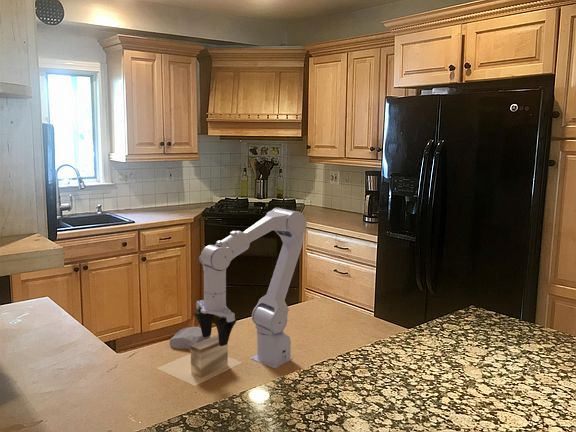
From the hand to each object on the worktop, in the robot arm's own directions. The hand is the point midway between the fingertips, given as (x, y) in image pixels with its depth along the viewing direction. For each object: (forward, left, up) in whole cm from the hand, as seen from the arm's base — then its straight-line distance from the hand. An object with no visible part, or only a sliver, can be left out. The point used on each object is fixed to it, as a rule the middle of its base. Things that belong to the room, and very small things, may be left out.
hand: (215, 340), depth 142 cm
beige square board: (+8, -2, -11) cm, 14 cm away
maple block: (+4, -2, -10) cm, 11 cm away
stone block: (+24, -11, -11) cm, 29 cm away
